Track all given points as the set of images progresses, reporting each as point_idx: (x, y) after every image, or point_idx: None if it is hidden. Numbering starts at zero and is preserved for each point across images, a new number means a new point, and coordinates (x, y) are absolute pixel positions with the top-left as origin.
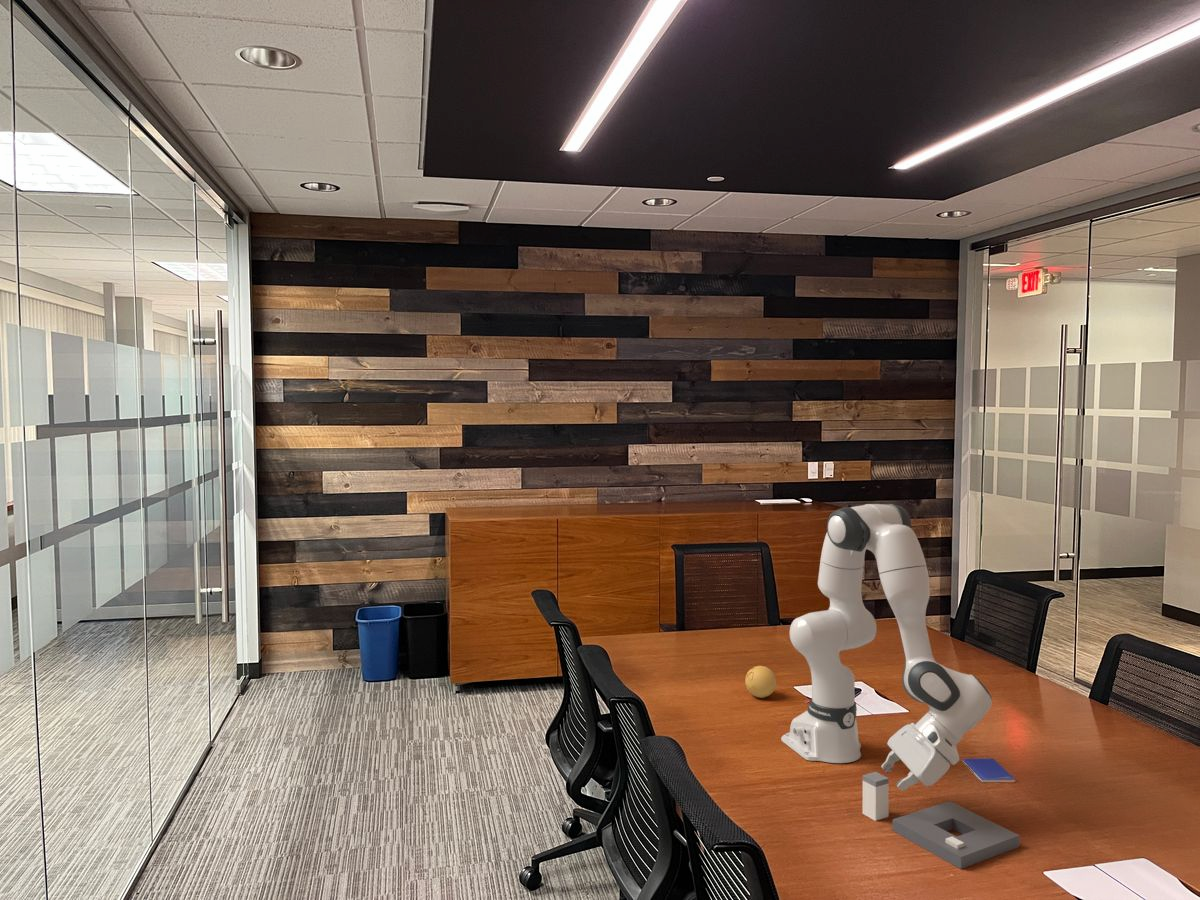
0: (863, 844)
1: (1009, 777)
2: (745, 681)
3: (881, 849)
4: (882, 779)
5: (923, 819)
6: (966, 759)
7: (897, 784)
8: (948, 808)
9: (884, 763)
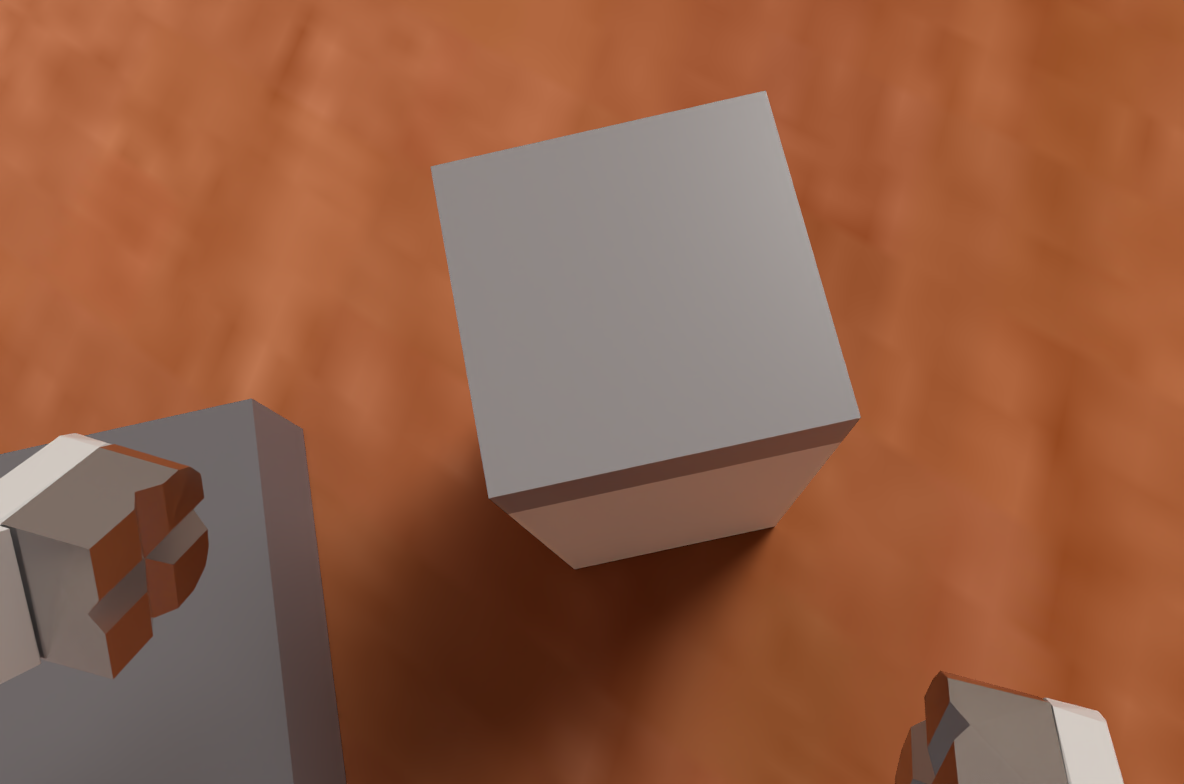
0: (201, 43)
1: None
2: None
3: (69, 141)
4: (481, 346)
5: (95, 770)
6: None
7: (106, 446)
8: None
9: (1081, 776)
